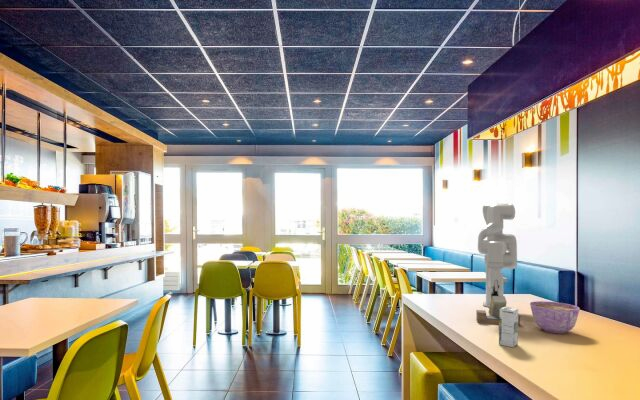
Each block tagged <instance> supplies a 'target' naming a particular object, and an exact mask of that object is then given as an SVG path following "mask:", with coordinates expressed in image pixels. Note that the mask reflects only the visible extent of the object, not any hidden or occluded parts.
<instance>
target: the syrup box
mask: <svg viewBox="0 0 640 400" xmlns="http://www.w3.org/2000/svg"><path fill="white" fill-rule="evenodd" d="M518 314H519V309H518V308H515V307H510V306H506V307H503V308H501V309H500V317H499V324H498V327H499V328H498V345H499V346H503V345H504V347H509V348H515V347H516V346H518V344H519V343H518V342H519V340H518V339H519V337H518V336H519V326H518Z"/></svg>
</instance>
